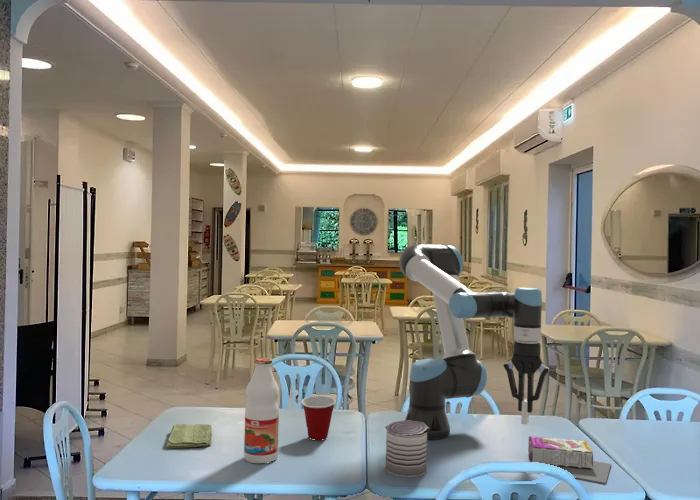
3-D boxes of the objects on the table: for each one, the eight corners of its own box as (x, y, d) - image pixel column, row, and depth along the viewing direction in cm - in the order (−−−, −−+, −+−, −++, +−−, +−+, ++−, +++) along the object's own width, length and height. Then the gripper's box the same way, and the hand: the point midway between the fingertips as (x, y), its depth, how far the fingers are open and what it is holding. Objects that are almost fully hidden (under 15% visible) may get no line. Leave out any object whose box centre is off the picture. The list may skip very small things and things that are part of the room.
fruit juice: (283, 455, 172) (286, 357, 172) (267, 466, 163) (269, 363, 163) (254, 451, 175) (257, 354, 175) (237, 461, 166) (239, 360, 166)
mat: (527, 469, 166) (527, 467, 166) (538, 452, 180) (538, 451, 180) (605, 484, 156) (605, 482, 156) (611, 465, 171) (611, 463, 171)
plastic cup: (294, 440, 185) (295, 401, 185) (309, 431, 195) (310, 394, 195) (326, 445, 181) (327, 406, 181) (340, 435, 191) (341, 398, 191)
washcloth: (164, 451, 174) (165, 440, 174) (171, 432, 192) (171, 422, 192) (211, 449, 177) (211, 438, 177) (213, 431, 194) (214, 421, 194)
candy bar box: (528, 434, 180) (586, 440, 176) (527, 451, 180) (586, 457, 176) (531, 446, 169) (594, 452, 165) (531, 464, 169) (593, 470, 165)
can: (433, 475, 160) (434, 430, 160) (393, 479, 156) (394, 433, 156) (416, 460, 171) (418, 418, 171) (378, 463, 167) (380, 420, 167)
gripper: (501, 340, 174) (499, 422, 174) (548, 345, 168) (545, 430, 168) (507, 337, 180) (505, 416, 180) (552, 341, 174) (550, 423, 174)
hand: (524, 422), depth 174 cm, fingers closed
